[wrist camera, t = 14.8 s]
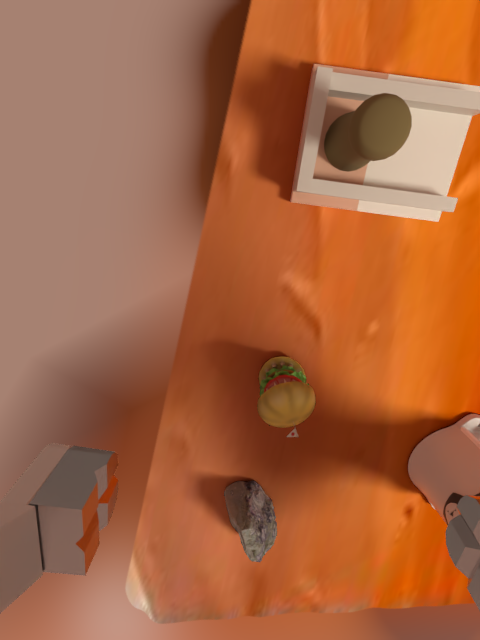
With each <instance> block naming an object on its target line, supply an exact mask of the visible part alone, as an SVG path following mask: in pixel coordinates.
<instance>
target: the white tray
mask: <svg viewBox="0 0 480 640" xmlns="http://www.w3.org/2000/svg"><path fill="white" fill-rule="evenodd" d="M382 93H389V94H394V95H397V96H398V97H400V98H402V99H403V100H404V101H405V102H406V104H407V105H408V107H409V109H410V112H411V116H412V127H411V130H410V134H409V137H408V138H407V140H406V142H405V143H404V145H403V146H402V147H401V148H400V149H399V150H398V151H397V152H396V153H395V154H394V155H392V156H390V157H388V158H386V159H383V160H377V161H370V162H369V163H368V164H366V165H365V166H364V167H362V168H360V169H358V170H355V171H349V172H347V171H341V170H339V169H337V168H335V167H333V166H332V164H331V163H330V162H329V161H328V159H327V157H326V154H325V150H324V141H325V136H326V133H327V131H328V129H329V127H330V125H331V124H332V123H333V122H334V121H335V120H336V119H337V118H338V117H340V116H342V115H344V114H346V113H349V112H353V111H355V110H356V109H357V108H358V107H359V106H360V105H361V104H362V103H363V102H364V101H365V100H366V99H368V98H370V97H372V96H374V95H377V94H382ZM479 113H480V86H473V85H466V84H458V83H451V82H444V81H437V80H429V79H422V78H415V77H408V76H400V75H393V74H386V73H378V72H371V71H364V70H357V69H349V68H342V67H335V66H328V65H320V64H314V65H313V68H312V72H311V78H310V84H309V90H308V96H307V102H306V108H305V114H304V120H303V126H302V132H301V138H300V144H299V150H298V156H297V162H296V168H295V174H294V180H293V186H292V192H291V198H290V202H294V203H301V204H309V205H316V206H324V207H331V208H339V209H346V210H354V211H361V212H369V213H376V214H384V215H391V216H399V217H406V218H414V219H421V220H429V221H436V222H439V219H440V216H441V212H442V211H447V212H454V209H455V206H456V203H457V200H458V198H453V197H447V194H448V190H449V187H450V184H451V181H452V178H453V175H454V172H455V168H456V165H457V162H458V159H459V156H460V153H461V149H462V146H463V143H464V140H465V137H466V134H467V131H468V127H469V124H470V121H471V118H472V116H474V115H476V114H479Z"/></svg>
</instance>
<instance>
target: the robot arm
mask: <svg viewBox="0 0 480 640" xmlns="http://www.w3.org/2000/svg"><path fill="white" fill-rule="evenodd" d="M117 466H118V454H117V453H116V452H112V451H106V450H99V449H92V448H85V447H78V446H68V445H62V444H56V443H51V444H49V445H47V446H46V447H45V448H44V449H43V450H42V451H41V453H40V454H39V455H38V456H37V457H36V459H35V460H34V461H33V462H32V464H31V465H30V466H29V467H28V468H27V470H26V471H25V472H24V473H23V474H22V476H21V477H20V478H19V479H18V480H17V482H16V483H15V484H14V485H13V487H12V488H11V489H10V490H9V492H8V493H7V494H6V495H5V497H4V498H3V499H2V500H1V501H0V613H1V612H2V611H3V610H4V609H6V608H7V607H8V606H9V605H10V604H11V603H12V602H13V601H14V600H16V599H17V598H18V597H19V596H20V595H21V594H22V593H23V592H24V591H25V590H27V589H28V588H29V587H30V586H31V585H32V584H33V583H34V582H36V580H38V579H39V578H40V577H41V576H42V575H43V572H51V573H63V574H74V575H86V573H87V571H88V568H89V566H90V564H91V562H92V559H93V557H94V555H95V553H96V550H97V548H98V546H99V531H100V530H101V529H103V528H104V527H105V526H106V525H108V523H109V521H110V518H111V516H112V513H113V510H114V506H115V503H116V500H117V493H118V479H117V478H116V477H115V475H114V473H115V471H116V469H117ZM408 473H409V476H410V479H411V481H412V482H413V483H414V485H415V486H416V487H417V488H418V489H419V490H420V491H421V492H422V493H423V494H424V495H425V496H426V498H427V500H428V502H429V503H430V505H431V506H432V507H433V508H434V509H436V510H437V512H438V513H439V514H440V516H441V517H442V519H443V520H444V521H445V523H446V524H447V525H448V527H447V530H446V545H447V548H448V551H449V555H450V557H451V559H452V561H453V562H454V564H455V566H456V567H457V568H458V569H459V570H460V571H461V572H462V573H463V574H464V575H465V576H467V577H468V586H467V588H468V590H469V592H470V594H471V596H472V598H473V599H474V601H475V603H476V605H477V606H478V609H479V610H480V415H478V414H469V415H467V416H465V417H463V418H462V419H461V420H459V421H458V422H457V423H455V424H454V425H452V426H449V427H447V428H444V429H441V430H439V431H436V432H434V433H432V434H431V435H429V436H427V437H426V438H425V439H423V440H422V441H421V442H420V443H419V444H418V445H417V446H416V448H415V449H414V450H413V452H412V454H411V456H410V459H409V462H408Z"/></svg>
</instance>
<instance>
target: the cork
mask: <svg viewBox="0 0 480 640" xmlns="http://www.w3.org/2000/svg"><path fill="white" fill-rule="evenodd" d="M411 127H412V116H411V112H410V109H409V107H408V105H407V104H406V102H405V101H404V100H403V99H402V98H400V97H398V96H397V95H394V94H389V93H382V94H377V95H374V96H372V97H370V98H368V99H366V100H365V101H364V102H363V103H362V104H361V105H360V106H359V107H358V108H357V109H356V110H355V111H353V112H349V113H346V114H344V115H342V116H340V117H338V118H337V119H336V120H335V121H334V122H333V123H332V124H331V125H330V127H329V129H328V131H327V133H326V136H325V141H324V150H325V154H326V157H327V159H328V161H329V162H330V163H331V164H332V166H333V167H335V168H337V169H339V170H341V171H347V172H349V171H355V170H358V169H360V168H362V167H364V166H365V165H366V164H368V163H369V162H370V161H377V160H383V159H386V158H388V157H390V156H392V155H394V154H395V153H396V152H397V151H398V150H399V149H400V148H401V147H402V146H403V145H404V143H405V142H406V140H407V138H408V137H409V134H410V130H411Z"/></svg>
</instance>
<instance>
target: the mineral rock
mask: <svg viewBox="0 0 480 640" xmlns="http://www.w3.org/2000/svg"><path fill="white" fill-rule="evenodd" d="M224 496H225V501H226V506H227V510H228V514H229V518H230V522H231V524H232V526H233V527H234V528H235V530H236V531H237V532H238V533H239V536H240V539H241V544H242V545H243V548H244V551H245V553H246V554H247V556H248V557H249V559H250V560H251V561H256V562H261V560H262V557H263V556H264V555H265V553H266V552H267V551H268V550H269V549H271V547H272V546H273V544H274V541H275V538H276V536H277V523H276V521H275V518H276V516H275V513H274V507H273V503H272V500H271V499H270V498H269V497H268V496H267V495H266V494H265V493H264V491H263V489H262V488H261V486H260V485H259V484H257V483H256V482H255V481H249V482H244V481H238V482H235V483H233V484H231V485H229V486H228V487H227V488H226V489H225V491H224Z"/></svg>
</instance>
